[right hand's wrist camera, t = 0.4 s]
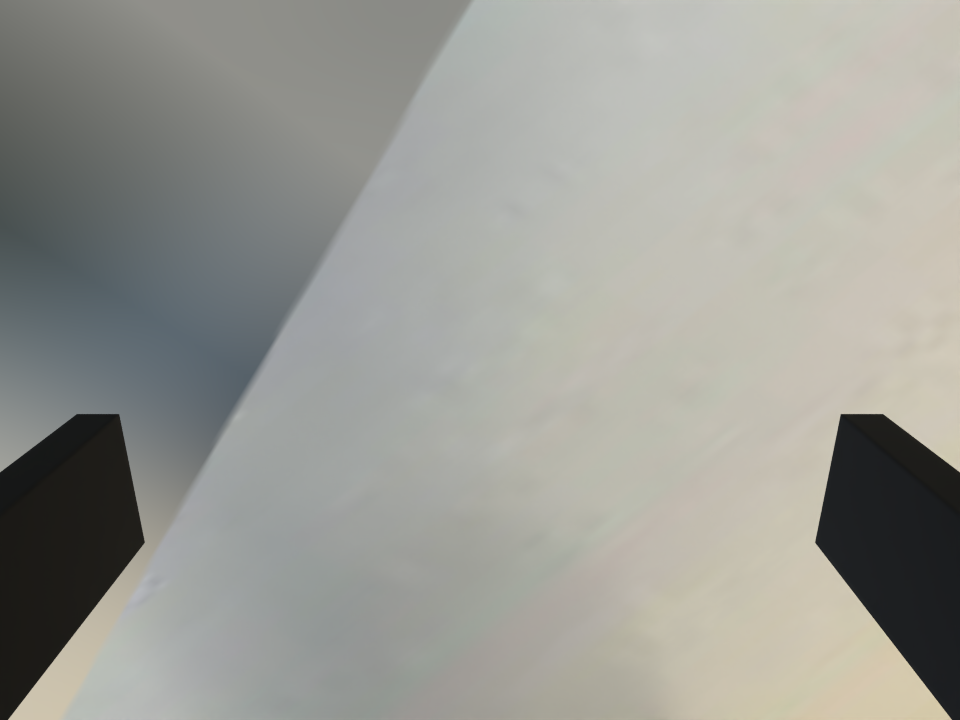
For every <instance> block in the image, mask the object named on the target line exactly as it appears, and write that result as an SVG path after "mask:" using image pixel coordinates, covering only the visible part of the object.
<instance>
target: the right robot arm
mask: <svg viewBox="0 0 960 720" xmlns="http://www.w3.org/2000/svg"><path fill="white" fill-rule="evenodd" d="M144 543H145V541H144V536H143V532H142V527H141V521H140V516H139V512H138V506H137V501H136V497H135V491H134V486H133V481H132V476H131V471H130V467H129V461H128V456H127V451H126V446H125V441H124V436H123V431H122V426H121V421H120V416H119V414H77V415H75V416H74V417H73V418H71V419H70V420H69V421H67V422H66V423H65V424H63V425H62V426H61V427H60V428H58V429H57V430H56V431H54V432H53V433H52V434H50V435H49V436H48V437H46V438H45V439H44V440H42V441H41V442H40V443H38V444H37V445H36V446H34V447H33V448H32V449H30V450H29V451H28V452H27V453H25V454H24V455H23V456H21V457H20V458H19V459H17V460H16V461H15V462H13V463H12V464H11V465H9V466H8V467H7V468H5V469H4V470H3V471H1V472H0V720H8V719H9V718H10V716H11V715H12V714H13V712H14V711H15V710H16V709H17V707H18V706H19V705H20V703H21V702H22V701H23V700H24V698H25V697H26V696H27V694H28V693H29V692H30V690H31V689H32V688H33V687H34V685H35V684H36V683H37V681H38V680H39V679H40V677H41V676H42V675H43V674H44V672H45V671H46V670H47V668H48V667H49V666H50V665H51V663H52V662H53V661H54V659H55V658H56V657H57V655H58V654H59V653H60V652H61V650H62V649H63V648H64V646H65V645H66V644H67V643H68V641H69V640H70V639H71V637H72V636H73V635H74V633H75V632H76V631H77V629H78V628H79V627H80V626H81V624H82V623H83V622H84V621H85V619H86V618H87V617H88V615H89V614H90V613H91V612H92V610H93V609H94V608H95V606H96V605H97V604H98V602H99V601H100V600H101V599H102V597H103V596H104V595H105V593H106V592H107V591H108V589H109V588H110V587H111V586H112V584H113V583H114V582H115V580H116V579H117V578H118V577H119V575H120V574H121V573H122V571H123V570H124V569H125V567H126V566H127V565H128V564H129V562H130V561H131V560H132V558H133V557H134V556H135V555H136V553H137V552H138V551H139V549H140V548H141V547H142V545H143V544H144ZM815 543H816V544H817V545H818V547H819V548H820V549H821V551H822V552H823V553H824V555H825V556H826V557H827V558H828V560H829V561H830V562H831V564H832V565H833V566H834V567H835V569H836V570H837V571H838V573H839V574H840V575H841V577H842V578H843V579H844V580H845V582H846V583H847V584H848V586H849V587H850V588H851V589H852V591H853V592H854V593H855V595H856V596H857V597H858V599H859V600H860V601H861V602H862V604H863V605H864V606H865V608H866V609H867V610H868V612H869V613H870V614H871V615H872V617H873V618H874V619H875V621H876V622H877V623H878V624H879V626H880V627H881V628H882V630H883V631H884V632H885V634H886V635H887V636H888V637H889V639H890V640H891V641H892V643H893V644H894V645H895V646H896V648H897V649H898V650H899V652H900V653H901V654H902V656H903V657H904V658H905V659H906V661H907V662H908V663H909V665H910V666H911V667H912V668H913V670H914V671H915V672H916V674H917V675H918V676H919V678H920V679H921V680H922V681H923V683H924V684H925V685H926V687H927V688H928V689H929V690H930V692H931V693H932V694H933V696H934V697H935V698H936V700H937V701H938V702H939V703H940V705H941V706H942V707H943V709H944V710H945V711H946V712H947V714H948V715H949V716H950V718H951V719H952V720H960V472H959V471H957V470H956V469H955V468H953V467H952V466H951V465H949V464H948V463H947V462H945V461H944V460H943V459H941V458H940V457H939V456H937V455H936V454H935V453H933V452H932V451H931V450H930V449H928V448H927V447H926V446H924V445H923V444H922V443H920V442H919V441H918V440H916V439H915V438H914V437H912V436H911V435H910V434H908V433H907V432H906V431H904V430H903V429H902V428H900V427H899V426H898V425H897V424H895V423H894V422H893V421H891V420H890V419H889V418H887V417H886V416H885V415H883V414H841V416H840V421H839V426H838V431H837V436H836V441H835V446H834V451H833V456H832V461H831V466H830V471H829V476H828V481H827V486H826V491H825V496H824V501H823V506H822V511H821V516H820V521H819V526H818V531H817V536H816V541H815Z"/></svg>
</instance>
